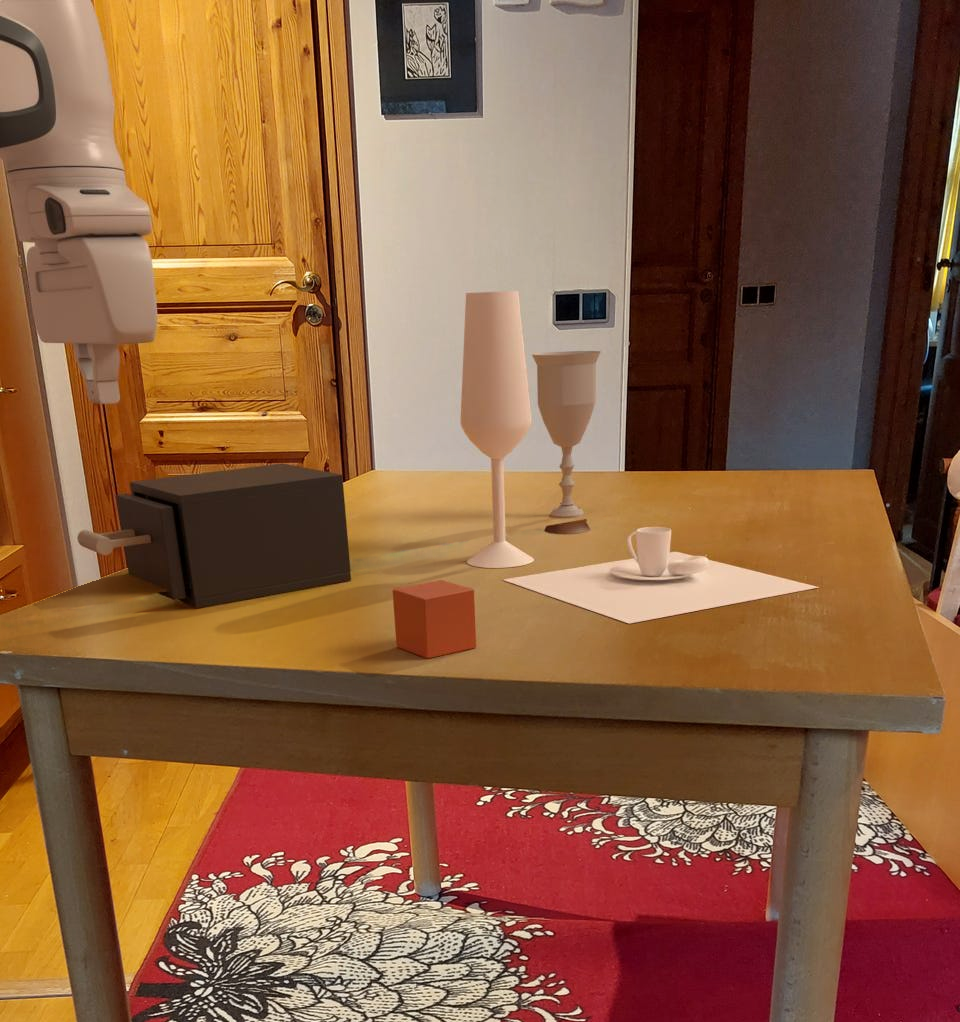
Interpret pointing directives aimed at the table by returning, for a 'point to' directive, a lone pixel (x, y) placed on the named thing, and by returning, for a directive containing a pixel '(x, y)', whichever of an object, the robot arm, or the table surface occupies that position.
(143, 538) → the dark grey drawer
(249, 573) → the drawer cabinet
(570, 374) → the chalice
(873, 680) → the table surface
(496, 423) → the champagne flute
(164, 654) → the table surface
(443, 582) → the block
